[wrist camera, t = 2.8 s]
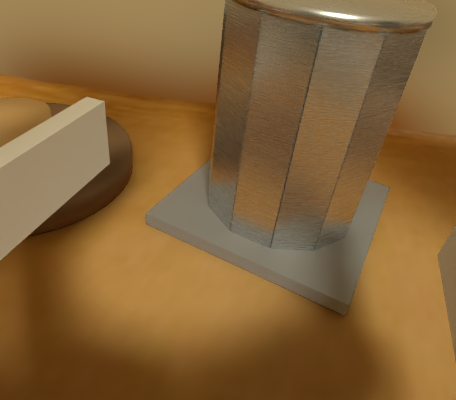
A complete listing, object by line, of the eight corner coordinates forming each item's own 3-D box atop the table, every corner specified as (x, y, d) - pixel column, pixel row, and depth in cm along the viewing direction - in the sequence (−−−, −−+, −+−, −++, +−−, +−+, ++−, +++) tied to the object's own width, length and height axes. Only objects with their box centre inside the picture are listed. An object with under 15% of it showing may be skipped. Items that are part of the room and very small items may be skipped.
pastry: (71, 145, 26) (66, 110, 25) (14, 174, 23) (4, 136, 21) (24, 125, 28) (16, 91, 26) (-36, 151, 24) (-49, 113, 23)
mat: (385, 196, 28) (389, 187, 28) (344, 315, 19) (349, 305, 19) (237, 143, 32) (238, 135, 31) (146, 223, 23) (145, 213, 22)
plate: (171, 157, 29) (171, 139, 28) (5, 278, 19) (-3, 257, 18) (35, 105, 33) (32, 88, 33) (-159, 179, 23) (-172, 158, 22)
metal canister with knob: (367, 189, 27) (456, -34, 19) (330, 276, 20) (445, -17, 12) (246, 146, 30) (278, -63, 22) (177, 209, 23) (187, -62, 15)
